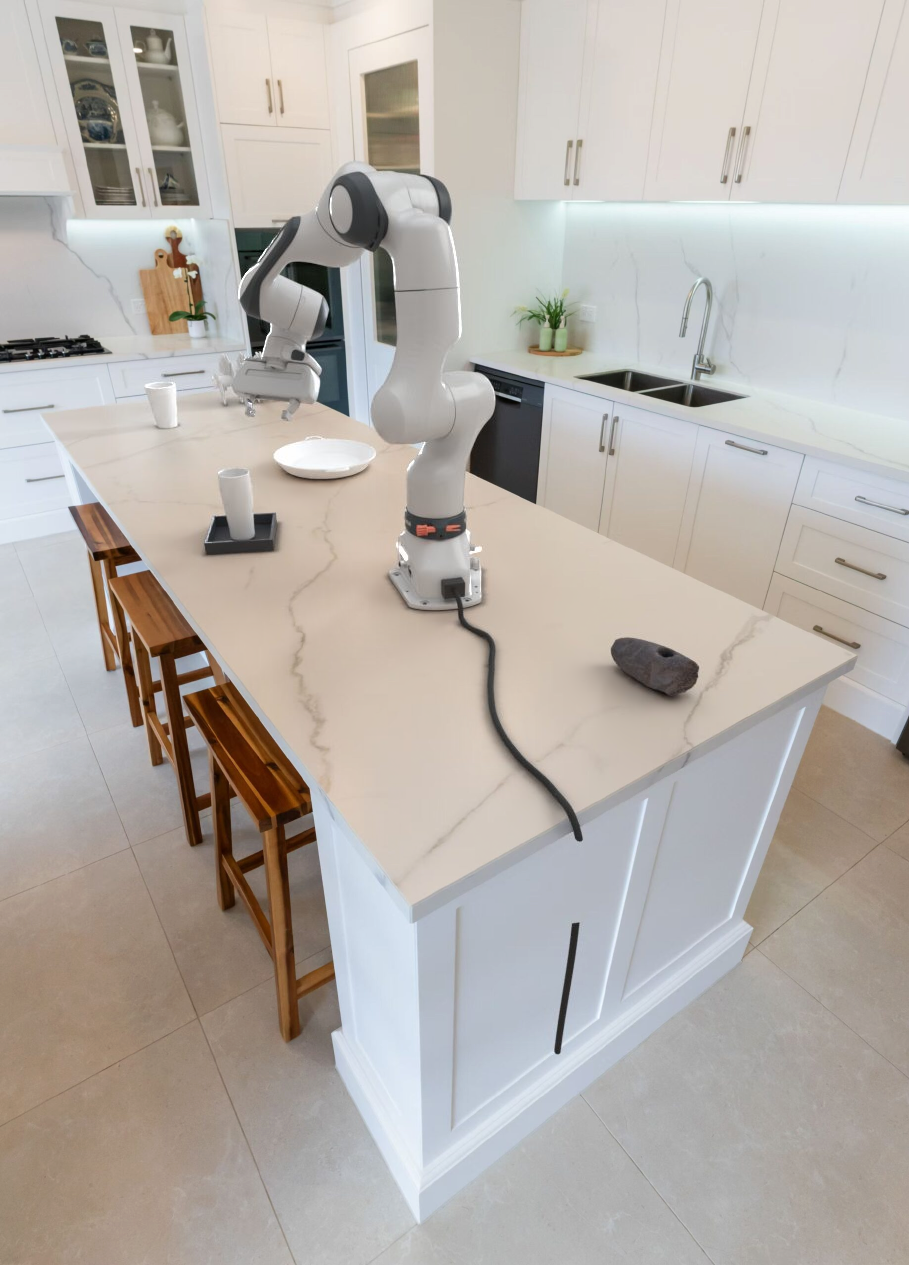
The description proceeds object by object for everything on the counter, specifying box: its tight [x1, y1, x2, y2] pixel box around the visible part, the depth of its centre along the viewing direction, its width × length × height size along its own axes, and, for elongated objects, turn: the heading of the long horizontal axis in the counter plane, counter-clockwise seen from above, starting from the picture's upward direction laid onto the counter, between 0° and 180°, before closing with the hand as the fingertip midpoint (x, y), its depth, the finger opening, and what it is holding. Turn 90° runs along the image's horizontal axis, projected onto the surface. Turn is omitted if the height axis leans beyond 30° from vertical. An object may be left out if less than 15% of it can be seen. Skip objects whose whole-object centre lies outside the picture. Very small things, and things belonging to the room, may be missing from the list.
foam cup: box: [144, 381, 178, 429], centre depth 239 cm, size 10×9×13 cm
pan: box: [272, 435, 377, 480], centre depth 207 cm, size 34×28×4 cm
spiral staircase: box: [211, 351, 263, 406], centre depth 267 cm, size 18×18×25 cm
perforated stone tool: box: [610, 636, 700, 697], centre depth 116 cm, size 15×5×7 cm, turn 40°
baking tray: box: [203, 512, 278, 556], centre depth 164 cm, size 16×14×3 cm
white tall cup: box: [217, 467, 255, 541], centre depth 160 cm, size 7×7×15 cm
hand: (267, 417), depth 163 cm, fingers open, 8 cm apart
